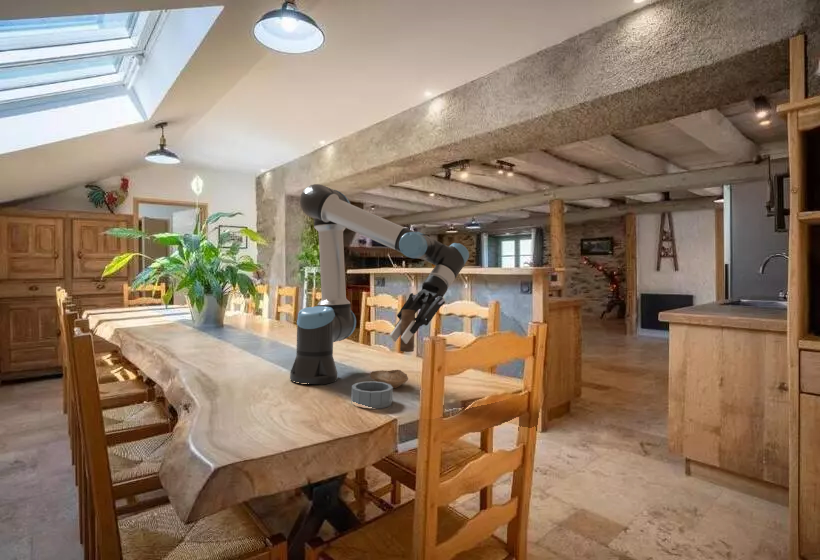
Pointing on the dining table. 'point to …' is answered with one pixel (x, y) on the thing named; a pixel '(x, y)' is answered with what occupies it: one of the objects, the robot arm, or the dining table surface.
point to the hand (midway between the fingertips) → (398, 339)
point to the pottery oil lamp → (390, 377)
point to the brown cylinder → (405, 322)
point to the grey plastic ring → (372, 394)
